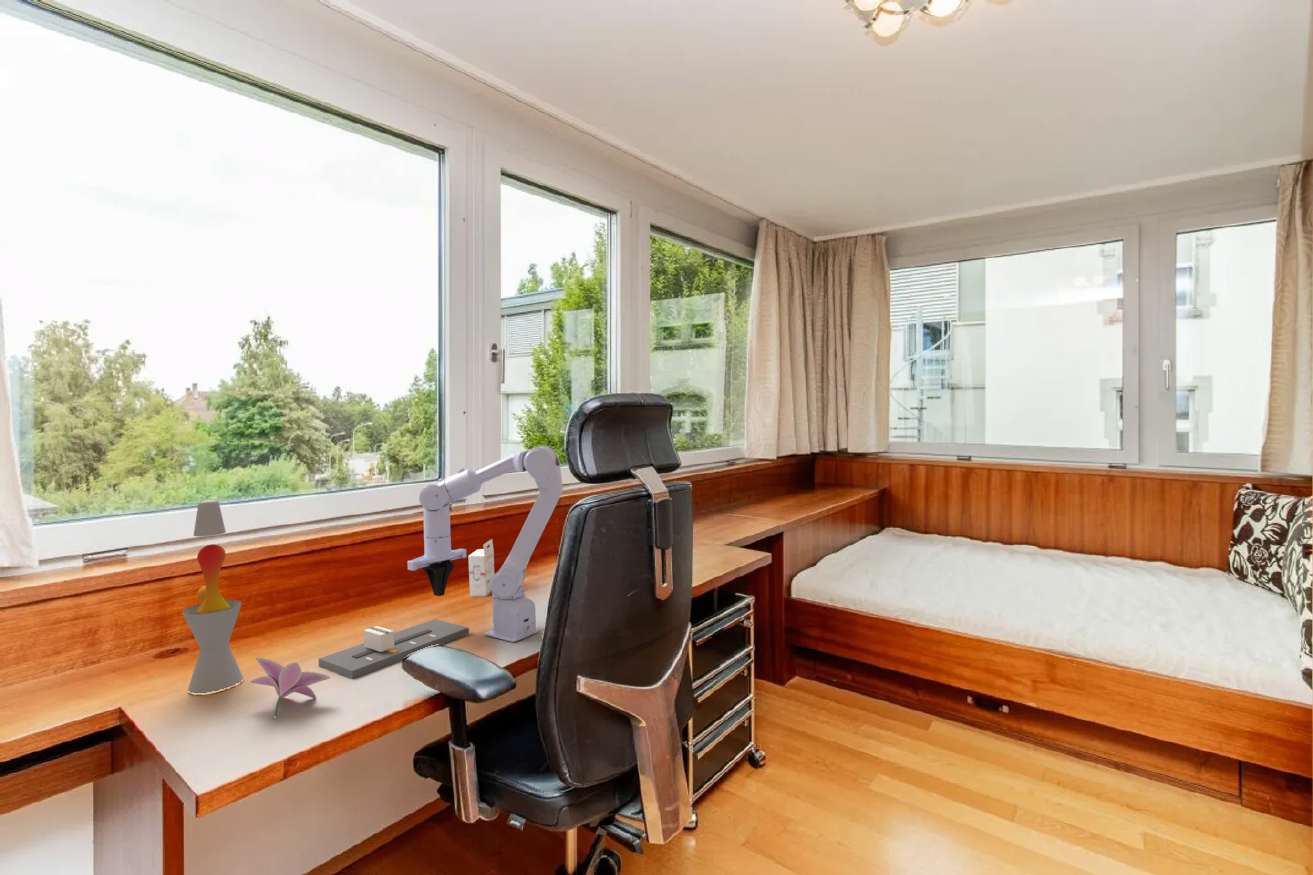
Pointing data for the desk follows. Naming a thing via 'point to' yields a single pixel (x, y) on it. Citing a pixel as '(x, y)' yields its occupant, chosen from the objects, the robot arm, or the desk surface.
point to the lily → (287, 679)
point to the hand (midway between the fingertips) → (439, 594)
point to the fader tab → (378, 638)
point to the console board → (405, 643)
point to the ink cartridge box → (481, 570)
